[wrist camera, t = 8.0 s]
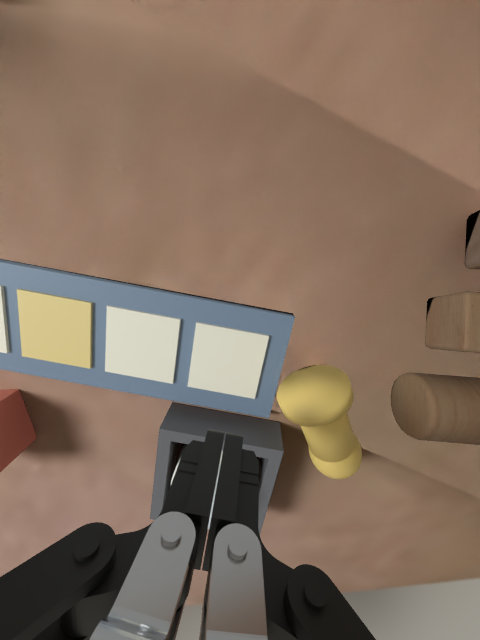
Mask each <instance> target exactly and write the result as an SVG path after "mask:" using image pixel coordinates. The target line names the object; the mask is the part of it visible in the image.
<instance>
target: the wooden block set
mask: <svg viewBox="0 0 480 640" xmlns="http://www.w3.org/2000/svg"><path fill="white" fill-rule="evenodd" d="M465 266H466V267H467V268H470V269H480V210H479V211H477V212H475V213H473V214H471V215H470V216H469V217H468V219H467V224H466V247H465ZM425 345H426V347H428V348H431V349H441V350H451V351H462V352H474V353H480V292H470V291H467V292H461V293H455V294H450V295H444V296H438V297H433V298H430V299H428V301H427V316H426V336H425ZM391 407H392V411H393V415H394V417H395V420H396V422H397V424H398V425H399V427H400V428H401V430H403V431H404V432H405V433H406V434H407V435H409V436H410V437H413V438H415V439H418V440H427V441H439V442H451V443H463V444H475V445H480V378H474V377H462V376H449V375H436V374H423V373H405V374H403V375H401V376H399V377H398V378H397V379H396V380H395V382H394V384H393V387H392V391H391Z"/></svg>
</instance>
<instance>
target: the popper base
mask: <svg viewBox="0 0 480 640" xmlns="http://www.w3.org/2000/svg"><path fill="white" fill-rule="evenodd" d="M208 429H211V430H217V431H222V432H225V435H224V440H223V446H222V451H223V449H224V443H225V438H226V432H228V433H233V434H239V435H243V445H242V449H245V450H250V451H254V452H255V455H256V457H259V486H258V487H259V511H258V529H259V535H260V532H261V529H262V525H263V522H264V518H265V515H266V511H267V508H268V504H269V501H270V497H271V494H272V491H273V487H274V484H275V480H276V477H277V473H278V470H279V466H280V463H281V459H282V456H283V452H284V449H283V442H282V435H281V428H280V422H277V421H271V420H266V419H260V418H255V417H249V416H244V415H238V414H233V413H227V412H222V411H216V410H211V409H206V408H200V407H195V406H189V405H184V404H178V403H173V402H172V404H171V406H170V408H169V410H168V412H167V414H166V416H165V418H164V420H163V423H162V425H161V427H160V429H159V438H158V447H157V457H156V466H155V476H154V485H153V495H152V504H151V514H150V519H154V520H156V518H157V517H158V516H159V514H160V513H161V511H162V508H163V506H164V503H165V500H166V497H167V495H168V492H169V489H170V486H171V480H172V477H173V474H174V468H175V461H176V453H177V446H178V443H184V444H189V443H190V442H191V441H192V440H196V441H202V442H204V441H205V438H206V434H207V431H208Z"/></svg>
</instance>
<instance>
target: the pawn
mask: <svg viewBox="0 0 480 640" xmlns="http://www.w3.org/2000/svg"><path fill="white" fill-rule="evenodd" d="M277 400H278V403H279V405H280V408H281V410H282V412H283V414H284V416H285V417H286V418H287V419H288V420H289V421H291V422H292V423H294V424H297V425H300V426H301V428H302V431H303V433H304V436H305V438H306V440H307V443H308V445H309V454H310V457H311V460H312V462H313V464H314V465H315V467H316V468H317V469H318V470H319V471H320V472H321V473H323V474H324V475H326V476H328V477H330V478H334V479H344V478H348V477H350V476H352V475H353V474H354V473H355V472H356V471H357V470H358V468H359V467H360V464H361V461H362V450H361V445H360V443H359V441H358V439H357V437H356V436H355V435H354V433H353V431H352V428H351V424H350V421H349V418H348V415H347V411H348V410H349V409H350V407H351V405H352V402H353V390H352V387H351V384H350V380H349V378H348V376H347V375H346V374H345V373H344V372H343V371H342V370H340V369H338V368H336V367H333V366H329V365H313V366H308V367H304V368H302V369H299V370H297V371H295V372H293V373H292V374H290V375H289V376H288V377H286V378H285V379H284V380H283V382H282V383H281V384H280V386H279V388H278V391H277Z"/></svg>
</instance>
